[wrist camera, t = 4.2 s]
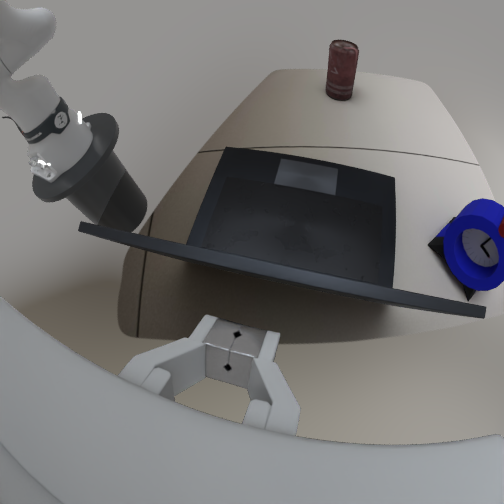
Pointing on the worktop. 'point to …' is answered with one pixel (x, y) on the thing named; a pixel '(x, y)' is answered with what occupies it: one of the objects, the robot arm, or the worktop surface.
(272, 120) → the worktop surface
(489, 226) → the alarm clock
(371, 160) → the worktop surface
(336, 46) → the can
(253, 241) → the laptop
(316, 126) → the worktop surface
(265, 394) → the robot arm
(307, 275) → the laptop screen
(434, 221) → the worktop surface
